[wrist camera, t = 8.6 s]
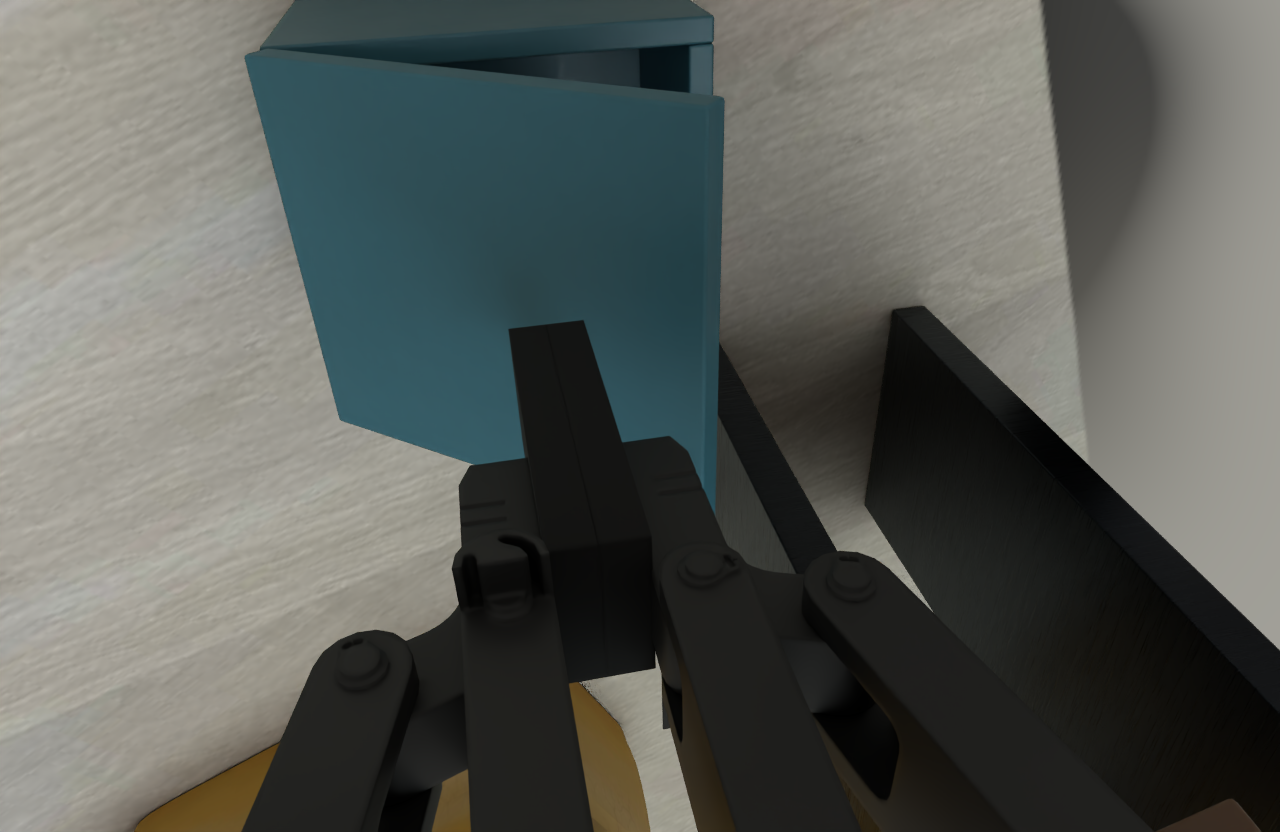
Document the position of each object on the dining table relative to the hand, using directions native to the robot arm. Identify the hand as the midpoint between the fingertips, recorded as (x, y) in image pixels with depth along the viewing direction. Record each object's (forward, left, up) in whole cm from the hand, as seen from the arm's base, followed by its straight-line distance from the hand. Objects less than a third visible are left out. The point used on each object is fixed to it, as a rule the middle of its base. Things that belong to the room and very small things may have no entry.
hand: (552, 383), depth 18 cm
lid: (+1, 0, -5) cm, 5 cm away
